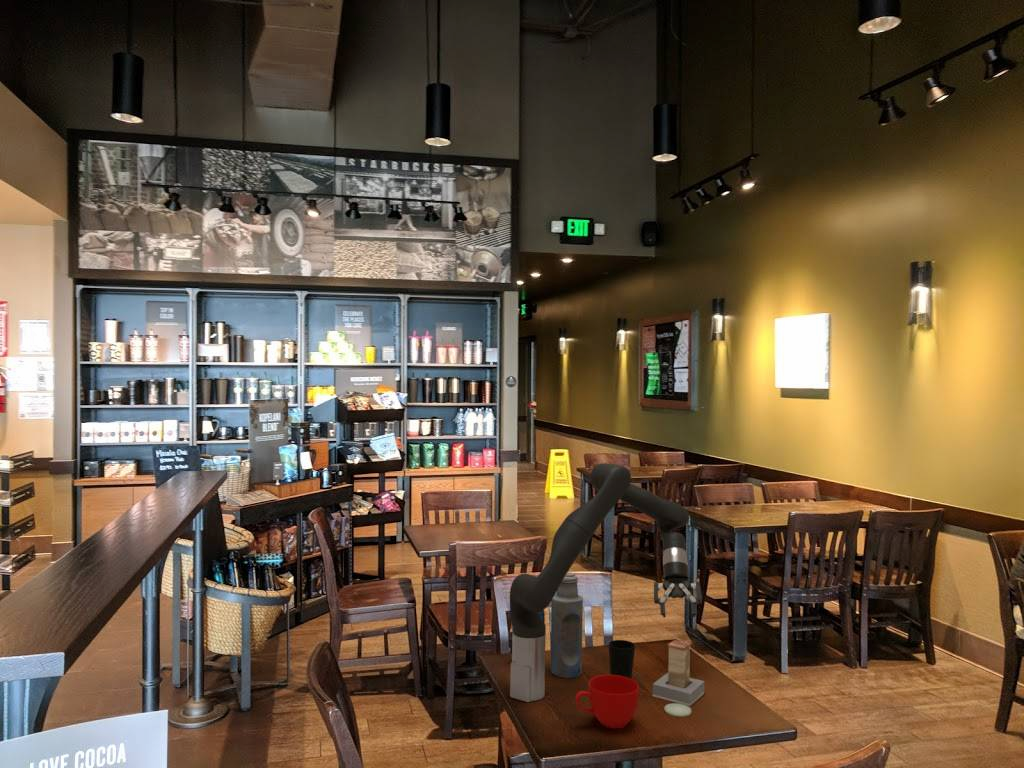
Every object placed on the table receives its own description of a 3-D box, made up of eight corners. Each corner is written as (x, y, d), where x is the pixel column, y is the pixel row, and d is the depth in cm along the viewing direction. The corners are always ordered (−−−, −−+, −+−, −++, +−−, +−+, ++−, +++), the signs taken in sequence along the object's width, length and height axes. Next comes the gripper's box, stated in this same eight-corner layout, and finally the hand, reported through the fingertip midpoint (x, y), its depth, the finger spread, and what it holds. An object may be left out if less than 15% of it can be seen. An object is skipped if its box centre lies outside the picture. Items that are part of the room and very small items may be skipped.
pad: (685, 719, 194) (685, 716, 194) (660, 712, 198) (660, 710, 198) (695, 710, 200) (695, 707, 200) (670, 703, 204) (670, 701, 204)
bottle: (555, 679, 219) (557, 578, 220) (546, 667, 229) (548, 570, 229) (586, 677, 222) (588, 576, 222) (575, 665, 231) (577, 568, 232)
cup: (633, 692, 212) (634, 649, 212) (606, 689, 213) (607, 647, 213) (634, 681, 219) (635, 641, 219) (608, 679, 221) (609, 638, 221)
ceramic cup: (566, 716, 195) (567, 678, 195) (625, 710, 199) (626, 672, 200) (584, 738, 182) (585, 698, 182) (647, 731, 187) (648, 691, 187)
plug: (683, 697, 207) (684, 647, 207) (667, 693, 210) (668, 644, 210) (689, 691, 211) (690, 643, 211) (673, 687, 214) (674, 639, 214)
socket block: (690, 706, 203) (690, 693, 203) (652, 696, 209) (652, 684, 209) (704, 693, 212) (704, 681, 212) (667, 683, 218) (668, 672, 218)
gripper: (651, 560, 230) (654, 611, 220) (698, 560, 227) (703, 611, 217) (652, 571, 235) (655, 621, 226) (698, 570, 233) (703, 621, 223)
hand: (679, 616), depth 221 cm, fingers open, 8 cm apart
